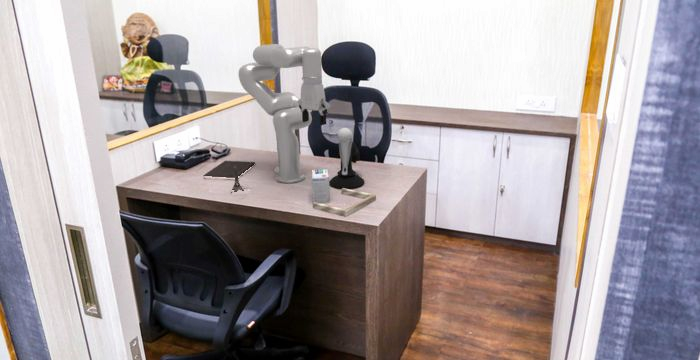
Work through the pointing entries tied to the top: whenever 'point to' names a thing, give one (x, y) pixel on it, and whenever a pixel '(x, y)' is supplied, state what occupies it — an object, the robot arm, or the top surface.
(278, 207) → the top surface
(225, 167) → the hardcover book
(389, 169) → the top surface
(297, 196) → the top surface
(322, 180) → the light bulb box
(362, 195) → the bay
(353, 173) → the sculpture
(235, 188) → the eiffel tower figurine
